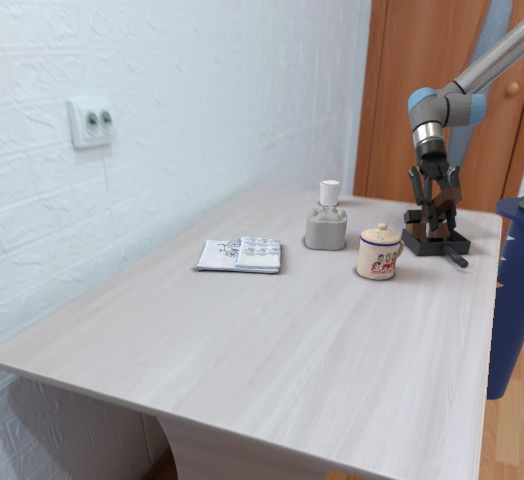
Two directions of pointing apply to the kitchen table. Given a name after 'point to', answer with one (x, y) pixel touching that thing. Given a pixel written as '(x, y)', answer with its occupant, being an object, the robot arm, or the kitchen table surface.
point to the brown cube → (417, 230)
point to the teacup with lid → (379, 252)
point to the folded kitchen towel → (241, 255)
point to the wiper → (441, 203)
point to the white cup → (329, 192)
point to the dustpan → (439, 246)
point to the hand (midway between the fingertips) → (443, 229)
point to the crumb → (440, 231)
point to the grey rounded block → (326, 228)
